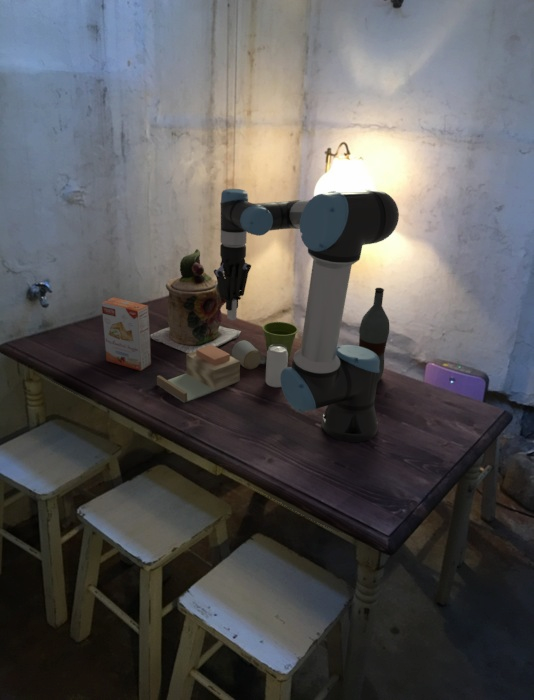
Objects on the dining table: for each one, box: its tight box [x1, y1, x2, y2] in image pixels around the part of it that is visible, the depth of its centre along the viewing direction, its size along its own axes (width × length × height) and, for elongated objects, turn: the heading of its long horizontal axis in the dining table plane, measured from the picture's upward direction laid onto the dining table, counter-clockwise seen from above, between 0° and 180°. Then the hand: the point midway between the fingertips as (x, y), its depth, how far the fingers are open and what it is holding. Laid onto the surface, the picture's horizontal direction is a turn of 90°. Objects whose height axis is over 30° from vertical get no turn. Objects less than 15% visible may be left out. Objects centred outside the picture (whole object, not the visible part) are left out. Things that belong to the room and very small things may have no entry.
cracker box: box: [101, 297, 152, 372], centre depth 182 cm, size 14×6×21 cm, turn 64°
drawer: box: [156, 372, 215, 404], centre depth 172 cm, size 14×11×3 cm
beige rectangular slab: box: [185, 351, 241, 392], centre depth 178 cm, size 14×10×7 cm
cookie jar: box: [150, 248, 242, 354], centre depth 200 cm, size 25×25×32 cm
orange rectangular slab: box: [196, 345, 231, 366], centre depth 176 cm, size 9×6×2 cm, turn 44°
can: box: [265, 345, 289, 389], centre depth 175 cm, size 6×6×12 cm
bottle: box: [358, 287, 390, 383], centre depth 178 cm, size 9×9×30 cm
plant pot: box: [262, 321, 299, 361], centre depth 192 cm, size 12×12×11 cm
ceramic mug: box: [231, 339, 267, 370], centre depth 188 cm, size 11×8×8 cm
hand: (231, 318), depth 177 cm, fingers closed
